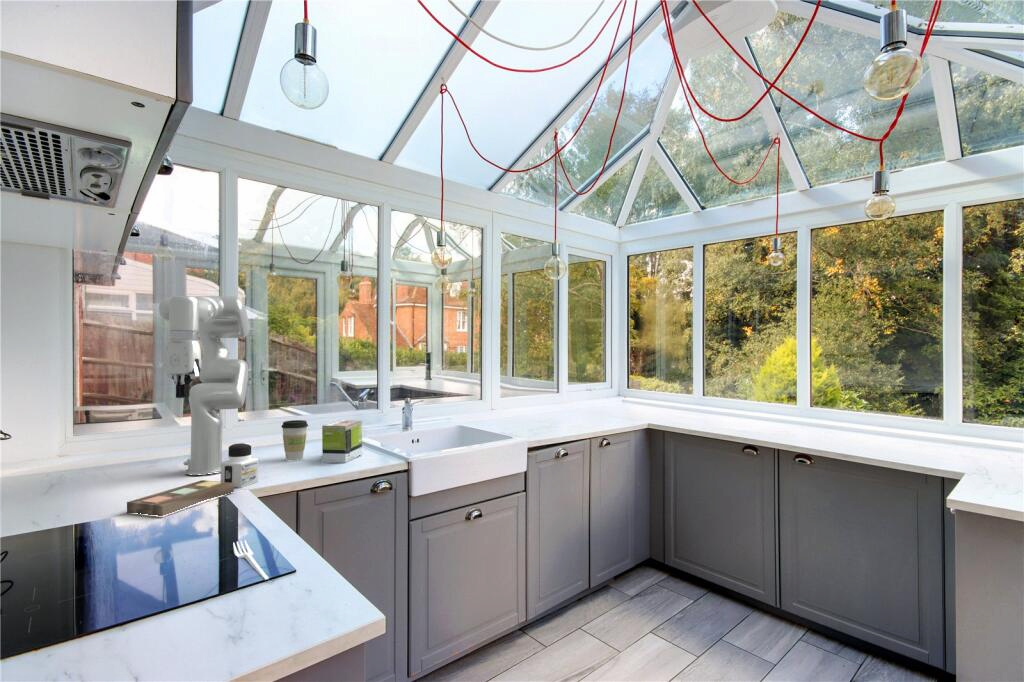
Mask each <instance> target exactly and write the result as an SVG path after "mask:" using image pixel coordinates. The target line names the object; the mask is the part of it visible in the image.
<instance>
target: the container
mask: <svg viewBox="0 0 1024 682" xmlns="http://www.w3.org/2000/svg"><path fill="white" fill-rule="evenodd" d="M252 445H253V444H252ZM252 445H251V444H250V443H248V442H240V443H233V444H231V445H229V446H228V455H227V456H228V457H227V458H228V460H225V461H222V463H221V473H220V482H229V483H234V488H236V487H238V488H237V489H241V488H244V487H247V486H249V485H253V484H255V483H258V482H259V459H258V458H253V457H252Z"/></svg>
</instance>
